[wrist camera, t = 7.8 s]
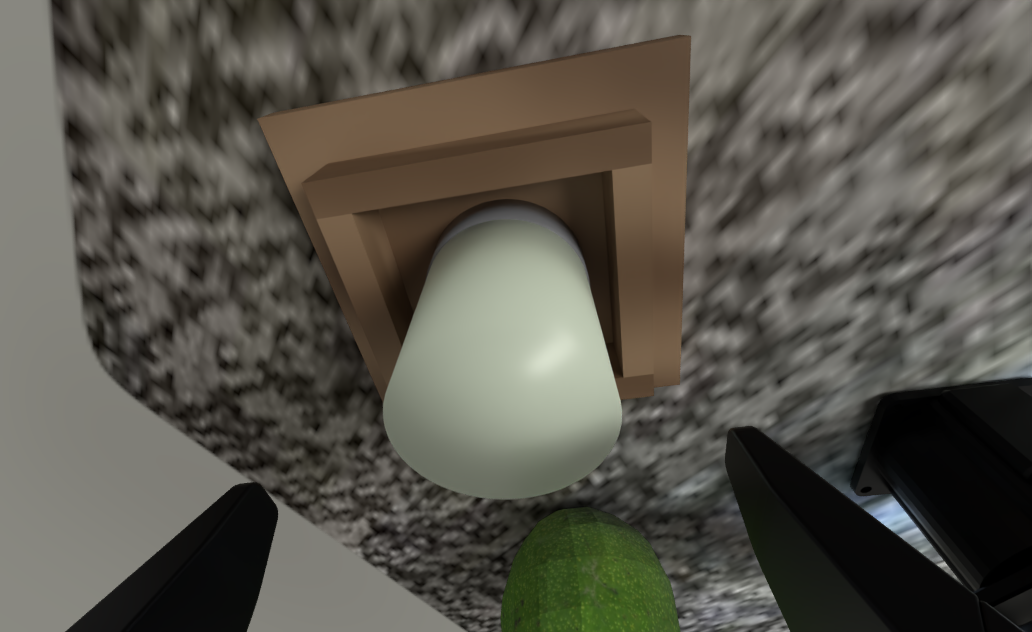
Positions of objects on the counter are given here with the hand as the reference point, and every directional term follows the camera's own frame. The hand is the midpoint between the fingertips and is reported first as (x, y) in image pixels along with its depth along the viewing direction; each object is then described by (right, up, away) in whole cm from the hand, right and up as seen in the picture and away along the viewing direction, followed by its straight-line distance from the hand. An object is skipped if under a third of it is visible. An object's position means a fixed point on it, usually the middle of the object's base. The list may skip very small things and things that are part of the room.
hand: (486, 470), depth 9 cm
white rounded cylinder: (0, +4, +7) cm, 8 cm away
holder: (0, +5, +8) cm, 9 cm away
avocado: (+4, -8, +16) cm, 19 cm away
